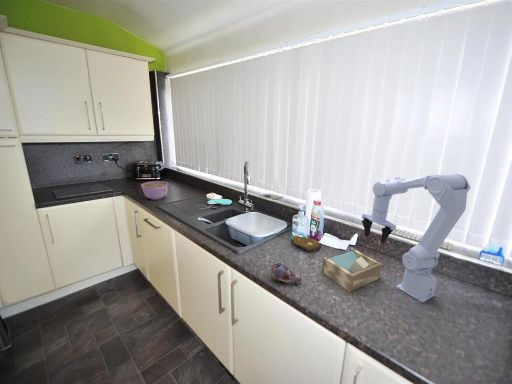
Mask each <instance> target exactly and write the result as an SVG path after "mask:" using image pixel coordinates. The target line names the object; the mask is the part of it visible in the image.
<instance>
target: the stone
mask: <svg viewBox="0 0 512 384" xmlns="http://www.w3.org/2000/svg"><path fill="white" fill-rule="evenodd" d="M368 265H369V264H368V263H367V262H366V261H365V260H364V259H363V258H362V257H360V258H358V259H357V260H356V261H355V262H354V263H353V264H352V265H351V266H350V268H349V269H350V270H351V271H352V272H353V273H356V272H358V271H360V270H363V269H365V268H367V266H368Z"/></svg>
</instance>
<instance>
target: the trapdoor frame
mask: <svg viewBox="0 0 512 384" xmlns="http://www.w3.org/2000/svg"><path fill="white" fill-rule="evenodd" d="M350 251H353V252H354V253H355V254H356V255H357V257H358V258H360V257H362V258H363V259H364V260H365V261H366V262H367V263H368V264H369V265H368V266H367V268H365V269H363V270H360V271H358V272H356V273H353V274H352V273H350V272H348V271H347V270H345V269H344V268H342V267H341V266H339V265H337V264H336V263H334V262H333V261H331V260H330V259H329V258H330V257H329V258H328V257H327V256H324V257H323V258H322V259H323V260H322V266H321V268H322V269H321V272H322V273H323V274H324V275H325V276H327V277H328V278H330V279H331V280H332V281H334V282H335V283H337V284H338V285H340V286H341V287H342V288H343V289H345V290H347V291H348V292H350V293H351V292H353V291H355V290H357V289H359V288H362V287H363V286H366V285H368V284H371V283H372V282H375V281H377V280H379V279H380V277H381V272H382V268H383V267H382V266H383V264H382V262H379V261H378V260H375V259H374V258H371V257H369V256H368V255H367V254H364V253H363V252H360V251H359V250H357V249H355V248H353V247H351V248H350V249H349V252H350Z"/></svg>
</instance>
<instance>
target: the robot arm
mask: <svg viewBox="0 0 512 384" xmlns="http://www.w3.org/2000/svg"><path fill="white" fill-rule="evenodd" d="M418 188H423V189H424V190H427V191H428V193H429V194H430V195H431V196H432V198H433V199H434V200H435V202H436V203H437V204H438V205H439V206H440V208H439V210H438V211H437V213H436V215H435V216H434V218H433V219H432V222H430V224H429V225H428V227H427V229H426V231H425V232H424V234H423V236H422V237H421V239H420V240H419V242H418V243H417V244H416V245H415V246H413V247H411V248H410V249H409V250H408V251H407V252H404V253H403V255H402V258H401V261H402V264H403V266H404V273H403V277H402V282H401V283H399V284H397V285H396V286H395V287H396V288H397V289H399V290H400V291H402V292H403V293H405V294H407V295H409V296H411V298H413V299H416V300H418V301H419V302H420V303H425V302H427V301H428V300H430V299H431V298H433V297H435V292H436V291H435V290H436V287H437V283H438V278H437V277H436V276H434V275H433V274H432V273H431V271H432V269H434V268H436V267H437V266H438V262H439V261H438V259H439V257H440V256H441V254H440V252H439V251H438V250H439V249H440V247H442V244H443V243H444V242H445V240H446V239H447V237H448V235H450V233H451V231H452V230H453V228H454V227H456V224H457V223H458V221H459V220H460V218H461V217H462V216H463V214H464V213H465V211H466V208H467V196H468V193H469V191H470V190H471V185H470V183H469V181H468V179H467V178H466V177H465V176H464V175H462V174H461V173H460V174H459V173H456V174H455V173H454V174H434V175H433V174H431V175H422V176H418V177H414V178H411V179H406V178H404V177H400V176H399V177H394V179H392V180H390V179H386V180H385V181H377V182H375V183H374V184H373V185H372V192H373V194H374V197H373V198H374V199H373V204H372V211H371V215H370V214H367V213H363V214H362V215H361V219H362V220H361V224H362V226H363V229H364V235H365V237H368V236H370V234H371V229H372V226H373V223H375V224H377V225H380V226H382V228H381V238H380V244H385V243H386V241H387V240H388V237H389V236H390V235H391V233H393V232H394V231H395V230H396V229H397V224H394V223H393V222H391V221H390V220H387V217H388V212H389V211H388V210H389V205H390V201H391V200H392V197H393V196H394V195H399V194H406V193H407V192H408V191H409V189H411V190H412V189H418Z"/></svg>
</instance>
